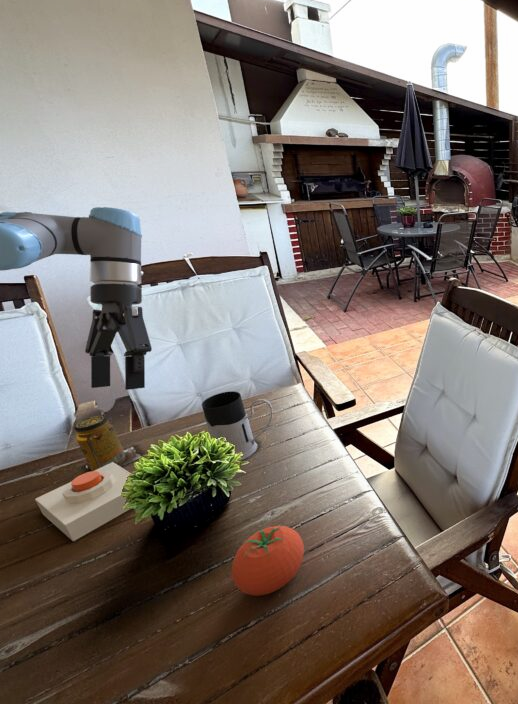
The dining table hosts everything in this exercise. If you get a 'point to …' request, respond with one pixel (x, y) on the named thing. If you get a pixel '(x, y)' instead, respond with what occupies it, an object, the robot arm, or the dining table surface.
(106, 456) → the condiment
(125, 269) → the robot arm
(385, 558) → the dining table surface
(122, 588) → the dining table surface
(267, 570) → the tomato
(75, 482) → the button
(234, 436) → the glass holder
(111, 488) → the white button box
